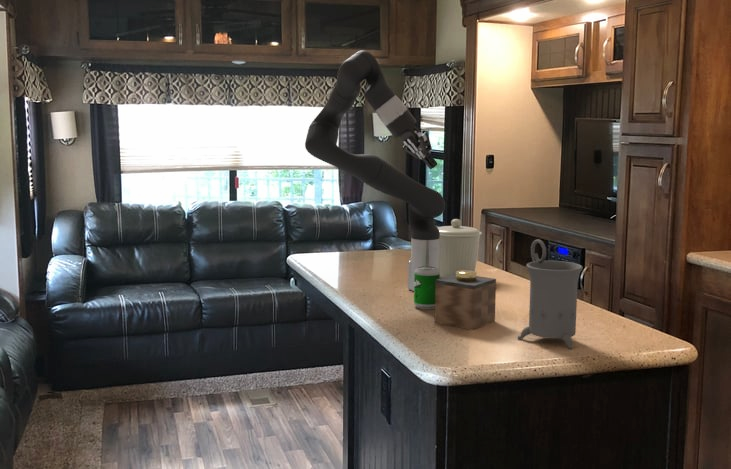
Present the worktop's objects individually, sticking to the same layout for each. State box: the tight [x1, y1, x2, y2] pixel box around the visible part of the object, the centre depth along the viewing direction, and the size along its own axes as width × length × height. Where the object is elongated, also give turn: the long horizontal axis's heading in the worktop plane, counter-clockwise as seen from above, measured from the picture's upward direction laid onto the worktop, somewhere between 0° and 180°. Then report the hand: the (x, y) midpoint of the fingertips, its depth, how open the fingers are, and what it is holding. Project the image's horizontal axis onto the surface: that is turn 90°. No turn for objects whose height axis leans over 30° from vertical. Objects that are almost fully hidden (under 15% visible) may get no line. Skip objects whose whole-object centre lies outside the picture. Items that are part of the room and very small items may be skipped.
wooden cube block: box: [434, 274, 497, 331], centre depth 216 cm, size 12×12×12 cm
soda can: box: [413, 266, 441, 311], centre depth 233 cm, size 8×8×12 cm
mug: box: [517, 238, 584, 350], centre depth 198 cm, size 19×15×25 cm
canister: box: [436, 218, 483, 279], centre depth 277 cm, size 18×18×21 cm
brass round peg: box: [456, 270, 478, 281], centre depth 216 cm, size 6×6×12 cm
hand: (434, 166), depth 215 cm, fingers closed
